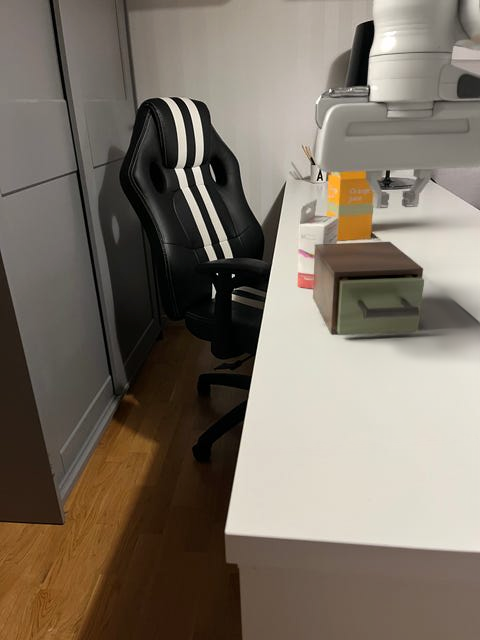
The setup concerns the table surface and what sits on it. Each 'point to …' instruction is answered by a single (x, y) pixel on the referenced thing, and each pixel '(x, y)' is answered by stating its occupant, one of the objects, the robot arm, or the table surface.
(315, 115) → the robot arm
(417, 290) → the drawer
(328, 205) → the orange juice
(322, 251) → the cabinet
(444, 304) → the table surface
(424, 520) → the table surface
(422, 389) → the table surface
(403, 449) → the table surface
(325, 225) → the ink cartridge box
